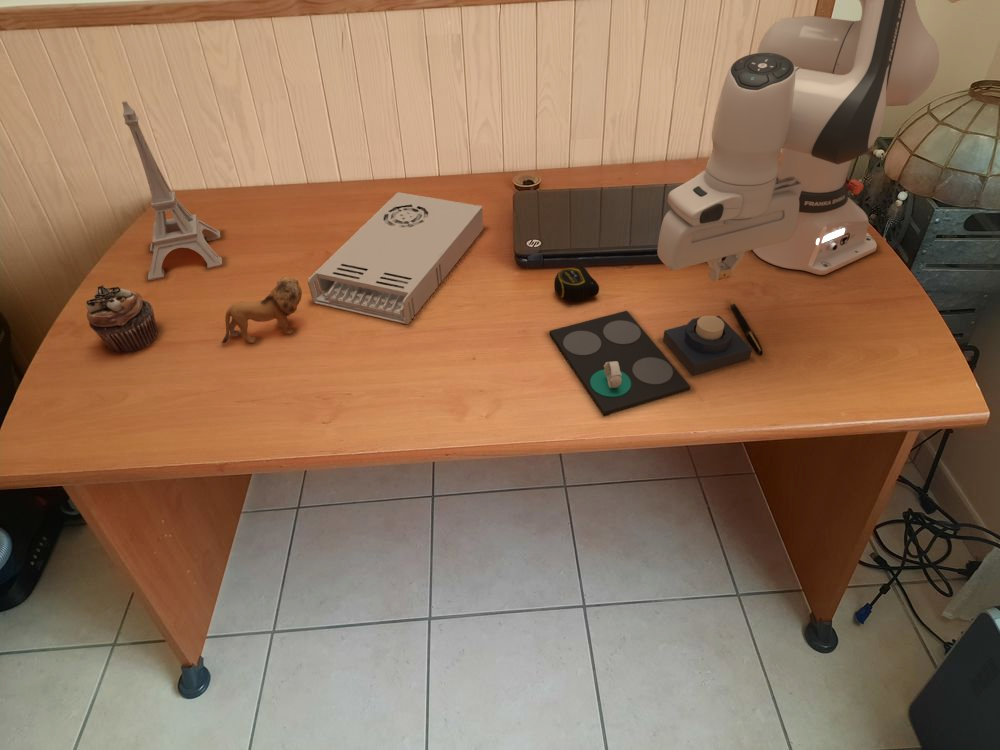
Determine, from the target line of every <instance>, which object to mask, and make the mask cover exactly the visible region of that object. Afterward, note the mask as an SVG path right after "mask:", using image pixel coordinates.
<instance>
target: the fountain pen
mask: <svg viewBox="0 0 1000 750" xmlns="http://www.w3.org/2000/svg"><path fill="white" fill-rule="evenodd" d="M729 304H730V306H731V307H730V308H731V309H732V311H733V313H734V315H735V317H736V319H737V321H738V323H739V324H740V327H741V329H742V330H743V332H744V333H745V336H746V338H747V339H748V342H749V343H750V345H751V346H752V347H753V349H754V350H755V351H756V353H757V354H758V355H761V356H762V355H763V353H764V351H763V347H762V345H761V343H760V341H759V339H758V338H757V336H756V334H755V332H754V331H753V330H752V328H751V327H750V325H749V323H748V321H747V320H746V319H745V318H744V317H745V316H744V315H743V314H742V313H741V311H740V309H739V308H738V306H737V305H736V303H734V302H733V301H732V300H730V301H729Z"/></svg>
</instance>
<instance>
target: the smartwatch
mask: <svg viewBox="0 0 1000 750" xmlns="http://www.w3.org/2000/svg"><path fill="white" fill-rule="evenodd" d="M604 374H605V375H606V376H607V380H608V384H609V387H610V388H617V387H619V386H620V385H621V381H622V379H621V376H622V374H621V372H620V368H619V363H618V362H617V361H613V362H606V363H605V365H604Z"/></svg>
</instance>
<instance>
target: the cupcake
mask: <svg viewBox="0 0 1000 750" xmlns="http://www.w3.org/2000/svg"><path fill="white" fill-rule="evenodd" d="M85 307H86V310H87V312H86V318H87V321H88V324H89V327H90V328H91V329H92V330H93V331H94V332H95V334H96V335H97V336H98V337H99V338H100V339H101V341H103V343H105V345H106V346H107V347H108V348H109V349H110V350H111V351H113V352H114V353H115V352H116V353H117V354H129V353H135V352H137V351H141V350H143V349H145V348H147V347H148V346H150V345H151V344H152V343H153V342H154V341H155V340H156V338H157V337H158V334H159V330H158V326H157V323H156V318H155V312H154V306H153V305H152V304H151V302H149V301H148V300H146V299H143V297H142V295H141V294H140V293H138V292H137V291H133V290H128V289H125V288H121V287H119V286H116V287H114V286H113V287H110V288H108V287H104V285H103V284H102V285H99V286H97V289H96V294H95V295H94V298H91V299H89V300H86V302H85Z"/></svg>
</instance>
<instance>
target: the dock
mask: <svg viewBox="0 0 1000 750" xmlns="http://www.w3.org/2000/svg"><path fill="white" fill-rule="evenodd" d="M715 316H716V315H715ZM700 317H701V316H698V317H694V318H692V319H691V320H690V321H689V322H688V323H687V324H683V325H680V326H675V327H673V328H668V329H665V330H664V331H663V337H662V342H663V343H664V344H665V345H666V347H667V348H668V349H669V350H670V351H671V352H672V354H673V355H674V356H675V358H676V359H678V361H679V363H681V364H682V365H683V367H684V368H685V369H686V370H687V371H688V372H689V373H690V375H691V376H692V377H693V376H697V375H701V374H705V373H707V372H711V371H714V370H718V369H721V368H724V367H727V366H731V365H735V364H739V363H742V362H746V361H749V360H750V359H751V355H752V352H753V348H752V347H751V346H750V345H749V344H748V343H747V342H746V341H745V340H744V339H743V338H742V337H741V336H740V335H739V334H738V332H736V331H735V330H734V329H733V327H732V326H731V325H729V324H728V323H727V322H726V320H724V319H723V318H722V317H721V316H720V315H717V316H716V317H718V318H720V319H721V320H722V321H723V322H724V330H723V334H722V336H721V337H720V338H719V339H716V340H706V339H704V338H701V337H699V336H698V335H697V334H696V326H697V321H698V319H699V318H700Z"/></svg>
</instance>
